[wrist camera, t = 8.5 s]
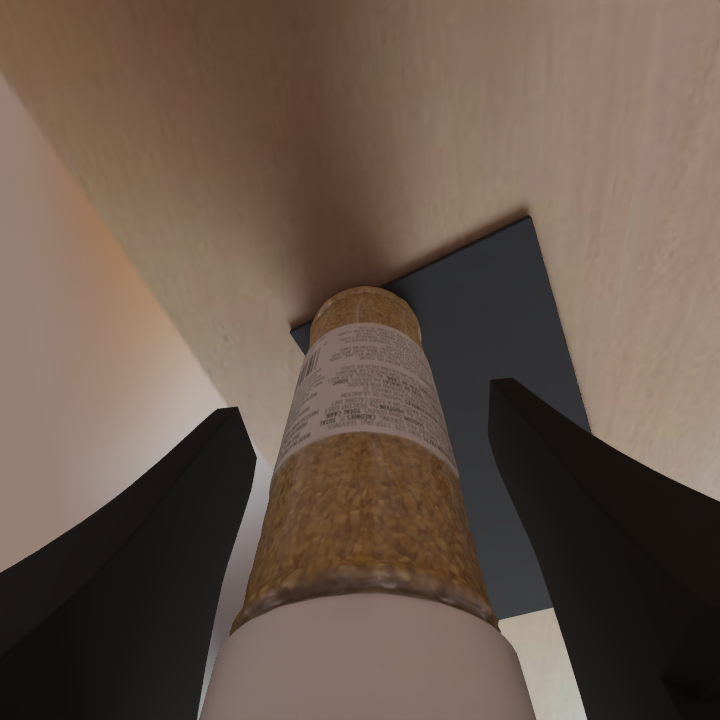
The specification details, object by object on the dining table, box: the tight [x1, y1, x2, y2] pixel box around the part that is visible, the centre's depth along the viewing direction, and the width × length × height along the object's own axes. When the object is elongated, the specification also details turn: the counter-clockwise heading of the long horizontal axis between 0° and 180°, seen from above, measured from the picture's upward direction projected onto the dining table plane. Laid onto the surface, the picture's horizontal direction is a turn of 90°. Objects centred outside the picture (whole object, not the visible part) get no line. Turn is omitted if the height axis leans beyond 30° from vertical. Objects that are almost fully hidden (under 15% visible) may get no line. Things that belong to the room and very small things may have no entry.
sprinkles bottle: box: [199, 286, 536, 720], centre depth 10 cm, size 5×5×13 cm
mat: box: [290, 216, 592, 620], centre depth 21 cm, size 26×10×1 cm, turn 27°
